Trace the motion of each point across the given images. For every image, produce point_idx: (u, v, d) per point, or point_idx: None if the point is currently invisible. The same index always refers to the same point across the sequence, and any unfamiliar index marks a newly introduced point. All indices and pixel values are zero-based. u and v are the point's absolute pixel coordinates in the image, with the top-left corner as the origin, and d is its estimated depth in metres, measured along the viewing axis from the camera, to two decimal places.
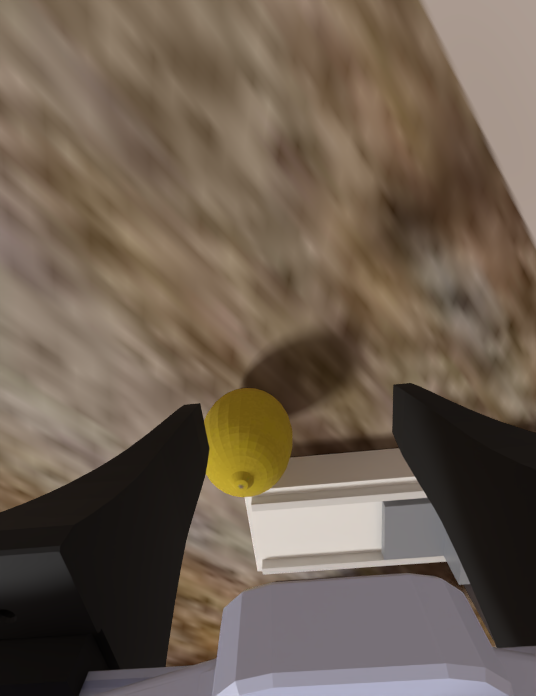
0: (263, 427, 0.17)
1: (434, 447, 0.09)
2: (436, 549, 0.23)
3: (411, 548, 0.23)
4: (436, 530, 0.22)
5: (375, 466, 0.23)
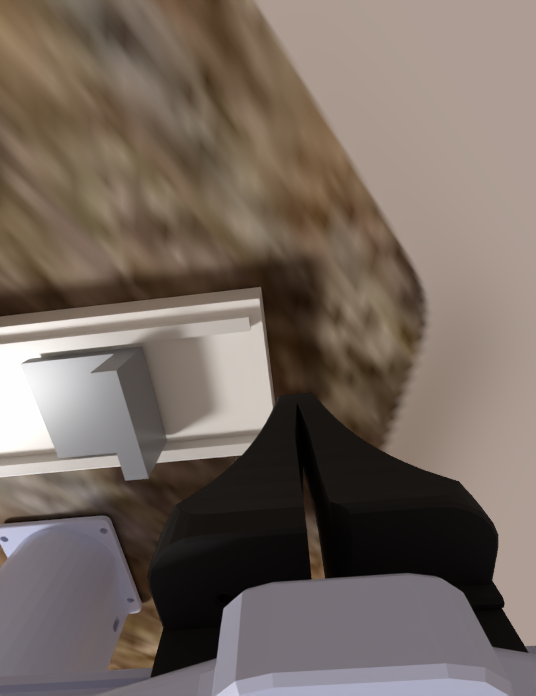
0: None
1: (309, 458, 0.09)
2: None
3: (90, 437, 0.15)
4: None
5: (41, 317, 0.15)
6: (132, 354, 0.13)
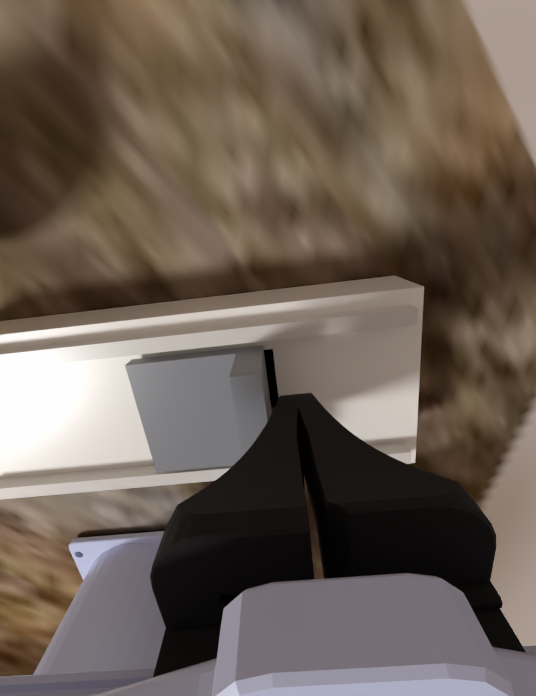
0: None
1: (308, 458, 0.09)
2: (238, 451, 0.13)
3: (195, 449, 0.13)
4: (228, 413, 0.13)
5: (154, 310, 0.14)
6: (260, 354, 0.11)
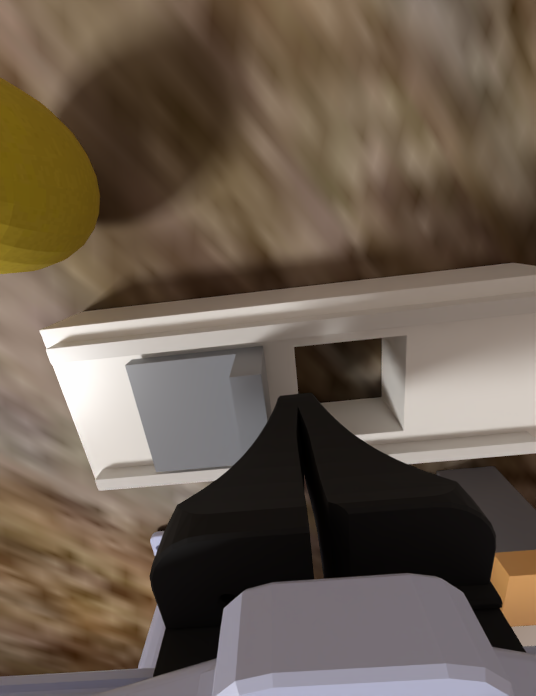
0: None
1: (308, 458, 0.09)
2: (238, 451, 0.13)
3: (195, 449, 0.13)
4: (228, 413, 0.13)
5: (278, 296, 0.13)
6: (260, 354, 0.12)
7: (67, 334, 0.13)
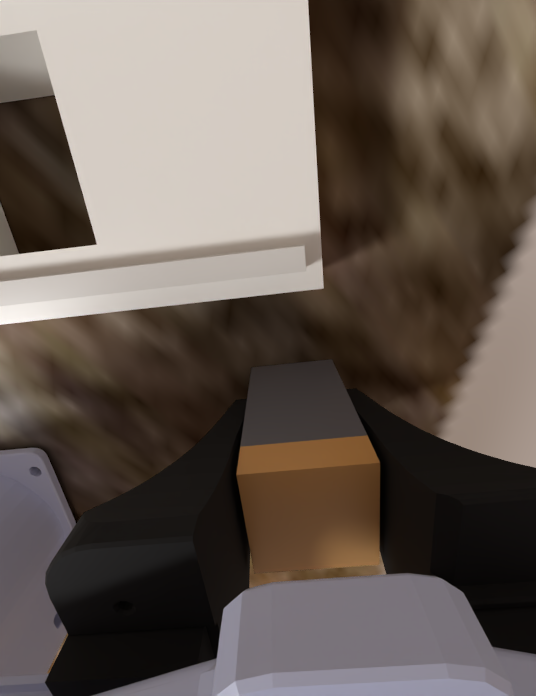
0: None
1: None
2: None
3: None
4: None
5: None
6: None
7: None
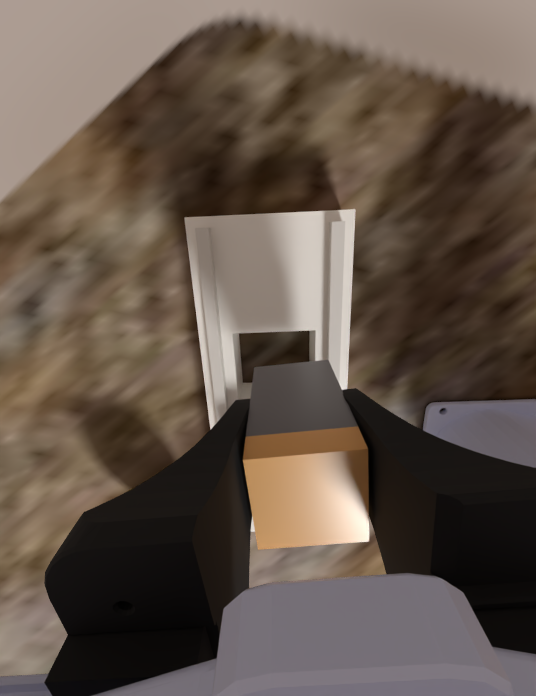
0: None
1: None
2: None
3: None
4: None
5: None
6: None
7: None
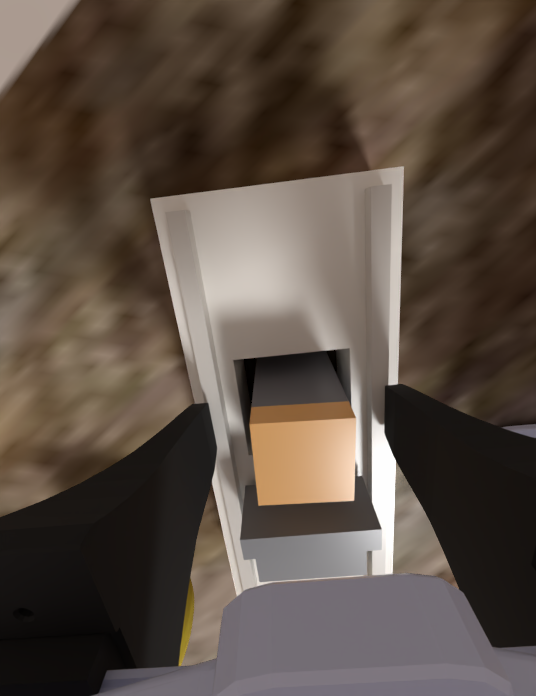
0: None
1: (424, 448, 0.09)
2: None
3: None
4: None
5: None
6: (243, 504, 0.13)
7: None
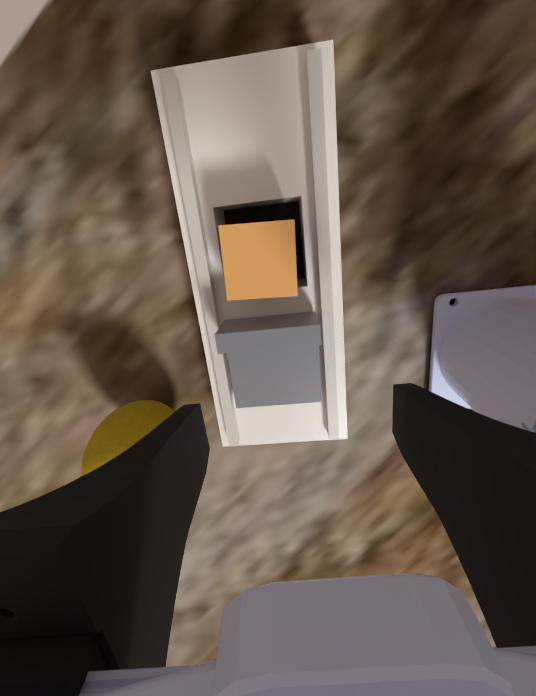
0: (84, 454, 0.18)
1: (435, 448, 0.09)
2: None
3: (302, 373, 0.18)
4: None
5: None
6: (221, 326, 0.17)
7: (224, 432, 0.21)
